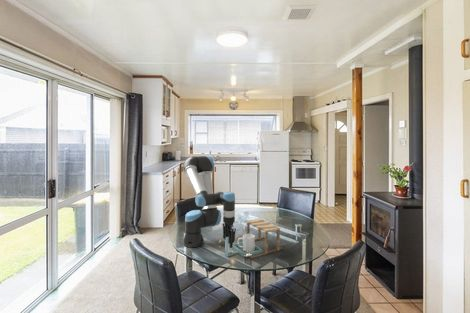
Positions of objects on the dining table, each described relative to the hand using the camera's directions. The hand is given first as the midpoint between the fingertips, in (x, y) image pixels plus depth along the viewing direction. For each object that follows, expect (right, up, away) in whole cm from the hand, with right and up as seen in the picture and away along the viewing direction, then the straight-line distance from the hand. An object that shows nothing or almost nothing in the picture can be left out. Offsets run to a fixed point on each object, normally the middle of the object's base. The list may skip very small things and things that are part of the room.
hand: (228, 250), depth 172 cm
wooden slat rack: (+20, -2, +13) cm, 24 cm away
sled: (+8, -2, +5) cm, 10 cm away
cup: (+12, -3, +9) cm, 15 cm away
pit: (+35, -2, +22) cm, 41 cm away
